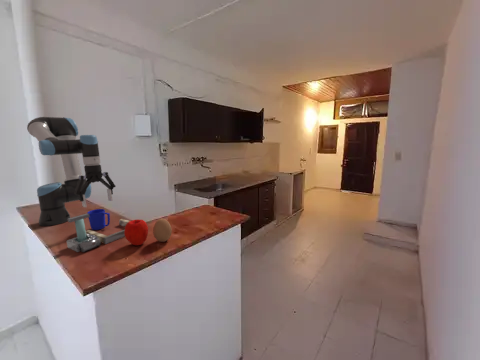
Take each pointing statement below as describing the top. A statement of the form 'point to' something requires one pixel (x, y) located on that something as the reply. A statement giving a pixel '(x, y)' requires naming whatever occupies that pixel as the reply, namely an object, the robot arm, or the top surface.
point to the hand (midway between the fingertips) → (98, 203)
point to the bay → (111, 237)
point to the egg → (162, 230)
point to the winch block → (84, 243)
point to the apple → (136, 231)
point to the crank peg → (80, 226)
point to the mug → (98, 219)
